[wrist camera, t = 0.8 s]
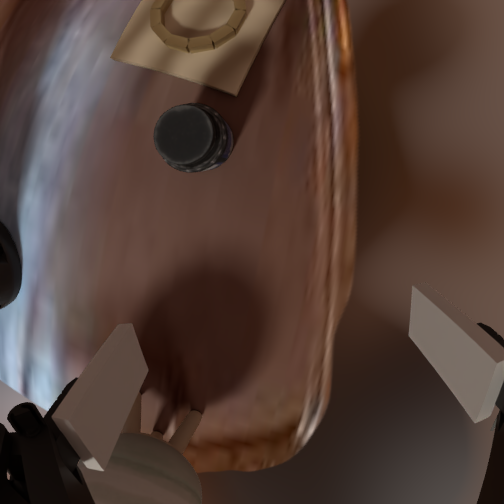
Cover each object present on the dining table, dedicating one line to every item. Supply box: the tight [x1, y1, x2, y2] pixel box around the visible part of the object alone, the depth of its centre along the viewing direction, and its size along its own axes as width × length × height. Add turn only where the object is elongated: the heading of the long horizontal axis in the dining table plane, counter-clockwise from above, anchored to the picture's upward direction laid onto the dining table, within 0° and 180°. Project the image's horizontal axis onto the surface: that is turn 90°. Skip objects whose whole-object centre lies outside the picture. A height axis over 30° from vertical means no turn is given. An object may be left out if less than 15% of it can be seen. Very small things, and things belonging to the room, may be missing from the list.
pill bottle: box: [154, 103, 233, 172], centre depth 27 cm, size 6×6×11 cm
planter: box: [77, 392, 202, 504], centre depth 32 cm, size 16×16×22 cm
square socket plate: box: [110, 0, 286, 97], centre depth 27 cm, size 16×16×3 cm
